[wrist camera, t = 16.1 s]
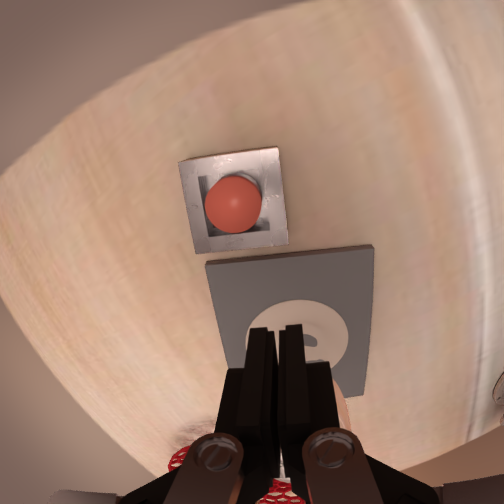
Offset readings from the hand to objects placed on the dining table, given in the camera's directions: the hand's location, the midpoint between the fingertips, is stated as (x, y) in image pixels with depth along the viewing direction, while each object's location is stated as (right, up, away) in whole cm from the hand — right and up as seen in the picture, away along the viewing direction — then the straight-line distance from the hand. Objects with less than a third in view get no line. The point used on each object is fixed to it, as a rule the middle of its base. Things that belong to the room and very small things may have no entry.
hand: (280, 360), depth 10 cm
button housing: (-2, +9, +18) cm, 20 cm away
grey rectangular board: (+4, -6, +24) cm, 25 cm away
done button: (-2, +8, +17) cm, 19 cm away
